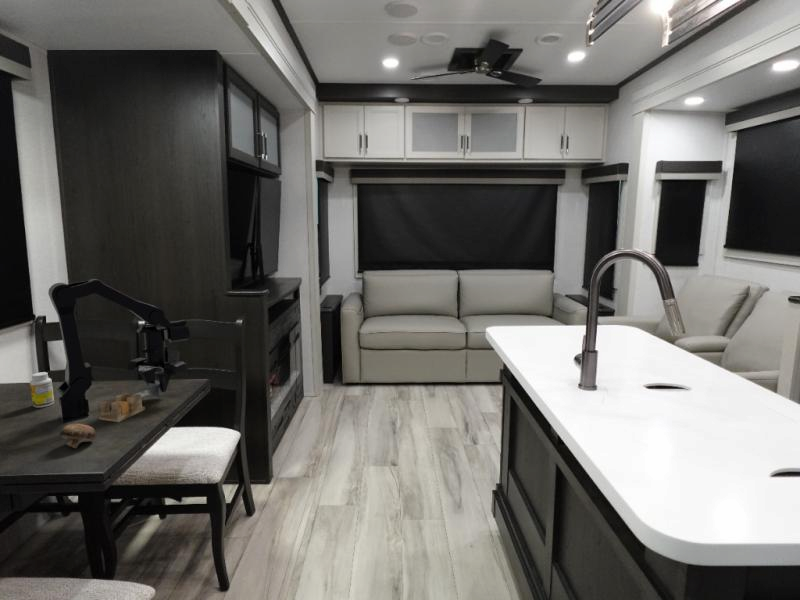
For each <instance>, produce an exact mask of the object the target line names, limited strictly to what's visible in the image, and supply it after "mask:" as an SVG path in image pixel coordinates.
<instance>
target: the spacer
mask: <svg viewBox="0 0 800 600" xmlns="http://www.w3.org/2000/svg"><path fill="white" fill-rule="evenodd" d="M114 403H120V405H121V414H124V413H127V412H129V402H125V401H116V400H115V401H114V402H112V403H110V407H111V408H110V409H111V410H112V405H111V404H114Z"/></svg>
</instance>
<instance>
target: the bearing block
mask: <svg viewBox="0 0 800 600" xmlns="http://www.w3.org/2000/svg"><path fill="white" fill-rule="evenodd" d="M132 395H133V396H132ZM132 395H131V393H130V392H124V393H121V394H119V395H116V396H115V397H114V398H115V402H116V401H125V402H129V412H127V413H124V414H121V405H120V403H114V404H111V403H110V401H105V400H103V401H101V402H99V408H100V415H99V416H98V419H99V420H101V421H109V422H115V423H120V422H122V421H124V420H126V419H128V418H130V417H132V416H135V415H137V414H139V413H141V412H143V411H145V410H146V408H145V407H146V406H143V401H142V399H143V398H141V394H137V393H135V395H134V394H132ZM130 396H131V397H130ZM111 405H112V409H111V410H110V406H111Z"/></svg>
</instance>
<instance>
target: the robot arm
mask: <svg viewBox="0 0 800 600" xmlns="http://www.w3.org/2000/svg"><path fill="white" fill-rule="evenodd" d="M93 294H96V295H98V296H100V297H102V298H104V299H107V300H109V301H111V302H113V303H114V304H117V305H119V306H120V307H123V308H125V309H126V310H128V311H130V312H131V313H133V314H134V315H135V316H137V317H138V318H139V319H140V320H142V321H143V322H145V323H146V324H148V325H149V326H148V325H147V326H146V325H144V324H141V325H140V326H139V328H137V330H136V332H137V333H138V334H143V336H144V347H145V348H142V353H145V357H138V358H134V359H131V360H129V361H128V363H127V371H136V370H137V369H138V370H137V371H136V372H137V373H136V374H138V375H139V376H140V377H141V378H142V379H143V380H144V382H145V383H146V385H147V386H148V387H149V384H148V383H150V382H153V381H156V376H155V375H157V378H158V381H159V382H160V386H161V389H162V392H165V393H166V392H167V389H168V385H169V382H170V379H171V377H172V375H177V374H179V373H182V372H185V371H186V370H187V364H186V362H184V361H181V360H179V357H180V351H176V350H169V349H170V348H169V346H168V345H166V342H165V340H166V341H168V342H169V343H175V342H181V341H182V342H183V341H188V340H189V339H190V337H191V333H190V329H189V325H188V323H187V320H186V319H180V320H175V321H170V320H169V319H167V318H166V316H165V311H164V310H163V309H162V308H161V307H157V306H155V305H153V304H149V303H146V302H143V301H140V300H138V299H135V298H133V297H131V296H129V295H127V294H126V293H123V292H122V291H119V290H117V289H115V288H114V287H112V286H110V285H107V284H106V283H104V282H103V281H102V280H100V279H96V278H90V279H89V280H84V281H78V282H76V281H75V282H72V283H65V282H56V283H54V284H52V285H51V286H50V287H49V289H48V297H49V299H50V303H51V304H52V306H53V308H54V310H55V312H56V314H57V317H58V323H59V328H60V333H61V338H62V339H61V340H62V344H63V349H64V354H65V360H66V365H65V372H64V373H65V375H64V378H65V379H64V381H63V382H62V383H61V384H60V385H59V386H58V388H57V391H58V393H59V395H60V397H58V404H59V405H58V406H59V416H58V417H59V418H60V420H61V421H62V422H63V423H65V422H70V421H73V420H79V419H84V418H87V417H89V416H90V415H89V413H90V407H89V399H88V398H87V397H86V393H87V391H88V390H89V389H90V388H91V387H92V384H93V383H92V381H95V378H94V376H93V375H92V373H93V372H92V371H93V370H92V369H93V368H92V365H90V363H88V362H85V363H84V360H83V356H82V355H83V354H82V349H81V344H80V339H79V332H78V328H77V323H76V318H75V317H76V316H75V311H76V306H77V305H76V302H77V301H76V299H81V298H84V297H87V296H90V295H93ZM158 325H159V326H161V327H157V326H158ZM158 369H159V370H161V372H159V373H157V374H156V372H157V370H158Z"/></svg>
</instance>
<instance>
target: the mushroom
mask: <svg viewBox="0 0 800 600" xmlns="http://www.w3.org/2000/svg"><path fill="white" fill-rule="evenodd" d="M59 435H60V437H61V438H62V439H65V440H66V441H67V442H66V446H69V447H71V448H73V449H77V448H78V447H79V445H80V444H81V443H83V442H84V443H87V442H92V441H94V440H95V439H96V438H97V433H96V430H95V429H94V427H92V426H90V425H88V424H82V423H72V424H71V423H70V424H67V425H65V426H64V427H63V428H62V429H61V431H60V432H59Z"/></svg>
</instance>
